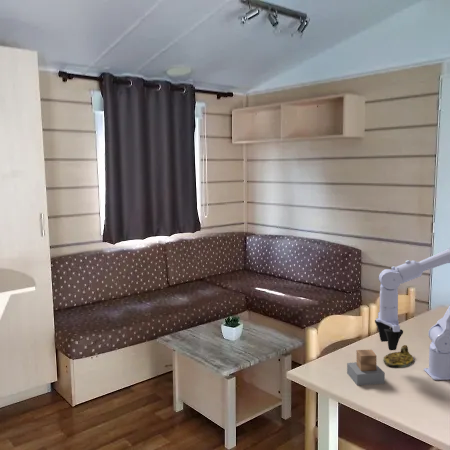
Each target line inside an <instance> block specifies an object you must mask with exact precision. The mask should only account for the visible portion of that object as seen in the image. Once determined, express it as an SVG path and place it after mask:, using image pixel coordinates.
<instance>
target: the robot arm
mask: <svg viewBox="0 0 450 450" xmlns="http://www.w3.org/2000/svg"><path fill="white" fill-rule="evenodd" d="M445 264H446V265H447V264H450V247H449V248H447V249H445V250H442V251H440V252H438V253H436V254H434V255H431V256H429V257H426V258H424V259H422V260H420V261H416V260H415V259H413V260H409V259H407V260H405V262H404V263H402V264H399V265H397V266H394V265H393V266H391V267H390V269H389V268H385V269H383V270H382V271H381V272H380V273H379V276H378V277H377V278H378V281H379V283H380V286H379V312H377V318H375V320H374V323H375V325H376V327H377V329H378V330H377V331H378V335H379V339H380V340H379V341H380V342H387V347H388V348H387V349H388V350H389V351H396V350H397V349H398V348H397V347H398V345H399V342H400V339H401V336H402V335H403V334H404V330H403V329H401V326H400V323H399V317H398V315H399V293H398V292H399V290H398V289H399V286H401V284H404V283H407V282H410V281H412V280H415V279H418V278H420V277H421V276H422V274H423V273H424V272H426V271H429V270H431V269H434V268H437V267H440V266H444V265H445ZM428 337H429V340H431V342H430V344H429V348H428V349H429V352H428V353H429V355H428V356H429V357H428V367H424V368H423V371H424V372H425V373H426V374H428V375H429V377H431V379H432V380H433V381H440V380H441V381H445V380H447V381H449V380H450V305H449V306H448V308H447V309H446V311H445V313H444V315H443V316H442V317H441V318H440V319H438V320H437V322H436V323H435V324H434V325H432V326H430V328H429V329H428Z"/></svg>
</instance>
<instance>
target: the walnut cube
mask: <svg viewBox="0 0 450 450" xmlns="http://www.w3.org/2000/svg"><path fill="white" fill-rule="evenodd" d="M355 353H356V362H357V366H358V367H359V369H360V370H361V371H374V370H376V365H377V355H376V353H375V352H374V351H373V350H372V349H356V352H355Z"/></svg>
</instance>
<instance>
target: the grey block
mask: <svg viewBox="0 0 450 450" xmlns="http://www.w3.org/2000/svg"><path fill="white" fill-rule="evenodd" d="M346 373H347V375H348V376H349V377H350V379H351V380H352V381H353V382H354V383H355V384H356V386H367V385H368V386H369V385H381V384H382V385H384V384H385V371H383V370H382V369H381V368H380V366H379V365H377V364H376V370H374V371H361V370H360V369H359V367H358V366H357V361H356V362H355V361H354V362H347V363H346Z"/></svg>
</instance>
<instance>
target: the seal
mask: <svg viewBox="0 0 450 450" xmlns="http://www.w3.org/2000/svg"><path fill="white" fill-rule="evenodd" d="M383 363H384V364H385V366H387V367H389V368H398V369H399V368H407V367H409V366H411V365H412V364H413V363H414V357H413V355H412V354H411V353H410V351H409V346H408V345H406V344H403V345H402V346H401V348H400V351H397V352H396V351H394V352H390V353H388V354H386V355H385V356H384V357H383Z"/></svg>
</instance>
